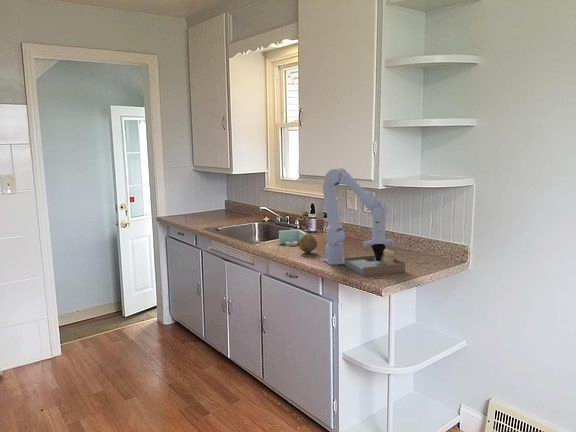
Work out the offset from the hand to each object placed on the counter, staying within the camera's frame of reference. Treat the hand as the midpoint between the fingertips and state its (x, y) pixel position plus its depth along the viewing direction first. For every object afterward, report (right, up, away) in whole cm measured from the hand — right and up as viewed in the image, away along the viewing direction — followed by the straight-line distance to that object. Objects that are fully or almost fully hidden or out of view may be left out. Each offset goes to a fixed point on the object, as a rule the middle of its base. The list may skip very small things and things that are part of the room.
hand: (377, 260), depth 211 cm
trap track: (-2, -4, 0) cm, 4 cm away
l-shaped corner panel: (-38, +4, +48) cm, 61 cm away
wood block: (+4, -1, +2) cm, 4 cm away
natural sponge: (-30, +1, +29) cm, 42 cm away
